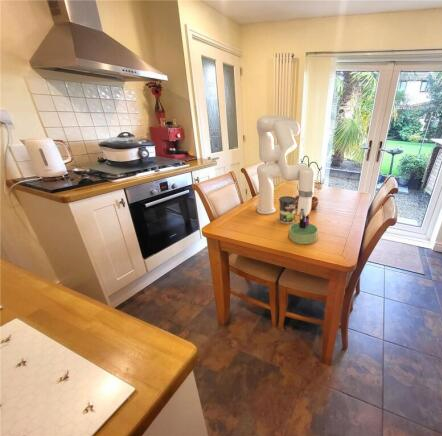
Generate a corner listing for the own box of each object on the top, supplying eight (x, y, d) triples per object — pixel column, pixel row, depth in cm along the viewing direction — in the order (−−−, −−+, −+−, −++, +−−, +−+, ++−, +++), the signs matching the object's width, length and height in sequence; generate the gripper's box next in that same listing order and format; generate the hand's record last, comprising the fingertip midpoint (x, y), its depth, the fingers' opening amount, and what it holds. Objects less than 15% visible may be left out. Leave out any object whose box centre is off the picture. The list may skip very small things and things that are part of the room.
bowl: (284, 241, 123) (284, 232, 121) (294, 228, 136) (294, 220, 134) (312, 247, 119) (313, 238, 116) (320, 234, 132) (320, 225, 129)
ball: (298, 227, 123) (298, 218, 121) (300, 223, 127) (301, 215, 125) (307, 229, 121) (307, 220, 119) (309, 225, 126) (310, 216, 124)
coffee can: (298, 221, 145) (299, 200, 139) (283, 224, 140) (283, 203, 134) (290, 215, 153) (291, 195, 147) (276, 218, 149) (276, 197, 143)
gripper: (303, 187, 125) (302, 218, 132) (293, 197, 110) (291, 231, 118) (317, 189, 123) (314, 220, 130) (308, 199, 108) (306, 234, 116)
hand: (304, 225), depth 124 cm, fingers closed on ball, 4 cm apart
